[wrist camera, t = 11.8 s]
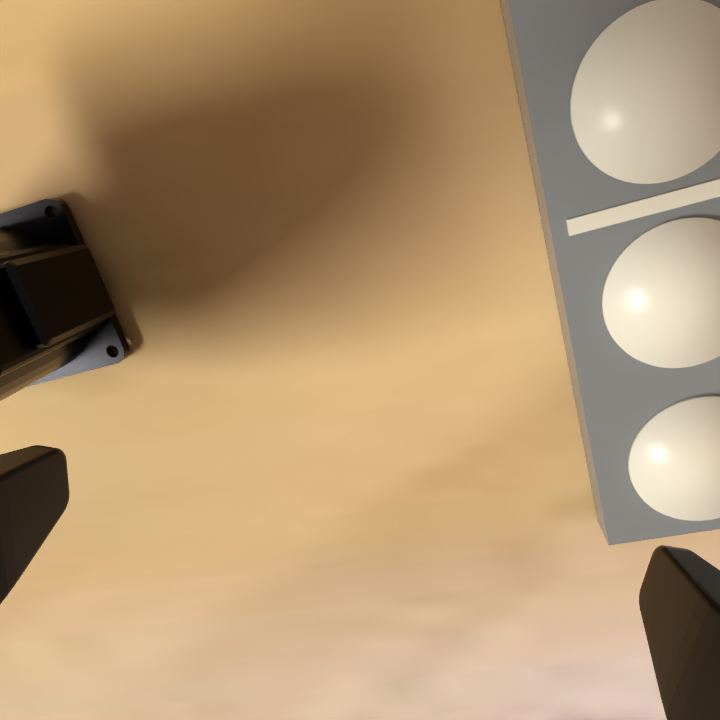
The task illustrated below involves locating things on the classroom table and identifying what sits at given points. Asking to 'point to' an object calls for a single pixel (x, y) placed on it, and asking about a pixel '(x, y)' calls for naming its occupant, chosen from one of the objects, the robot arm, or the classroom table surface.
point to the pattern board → (632, 241)
